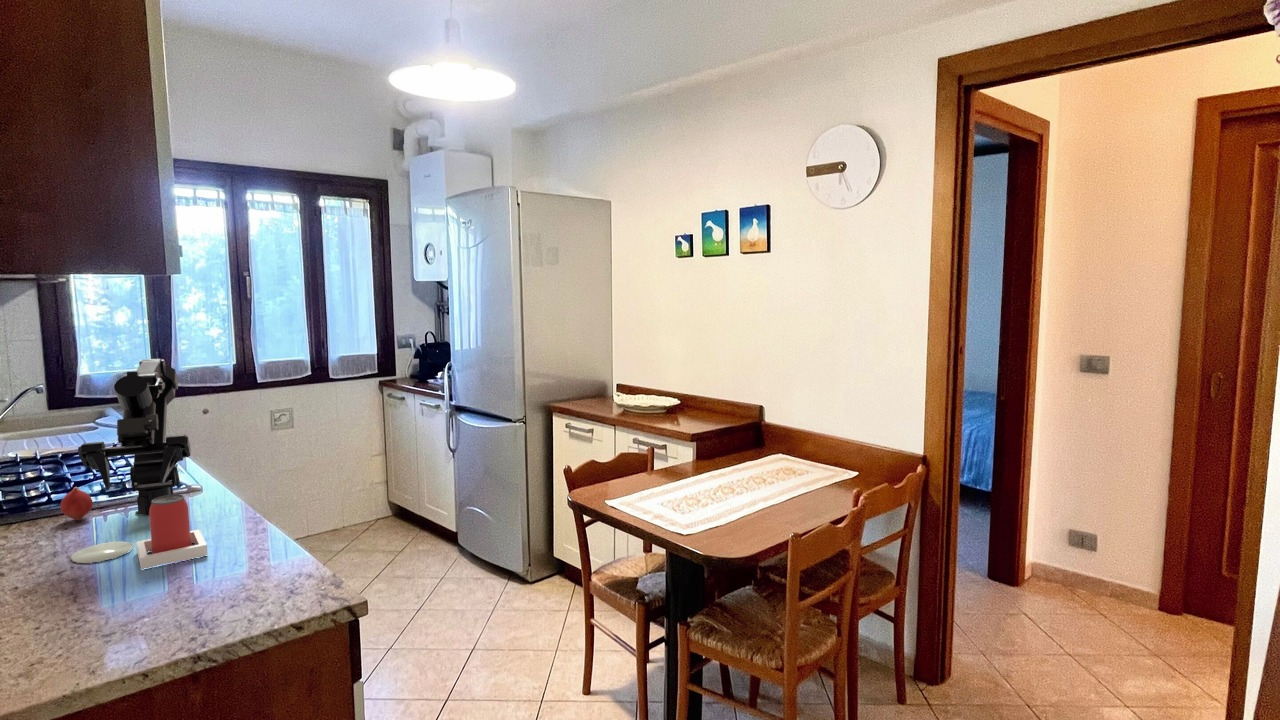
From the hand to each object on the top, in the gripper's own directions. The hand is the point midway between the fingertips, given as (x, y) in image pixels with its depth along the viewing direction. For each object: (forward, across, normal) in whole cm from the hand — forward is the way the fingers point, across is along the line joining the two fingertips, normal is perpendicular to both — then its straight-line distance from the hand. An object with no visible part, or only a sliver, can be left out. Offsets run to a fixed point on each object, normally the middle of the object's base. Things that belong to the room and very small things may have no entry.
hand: (134, 485), depth 140 cm
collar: (+15, +6, +4) cm, 17 cm away
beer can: (+15, +6, +4) cm, 17 cm away
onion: (-9, -16, +30) cm, 35 cm away
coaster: (+10, -6, +10) cm, 15 cm away
